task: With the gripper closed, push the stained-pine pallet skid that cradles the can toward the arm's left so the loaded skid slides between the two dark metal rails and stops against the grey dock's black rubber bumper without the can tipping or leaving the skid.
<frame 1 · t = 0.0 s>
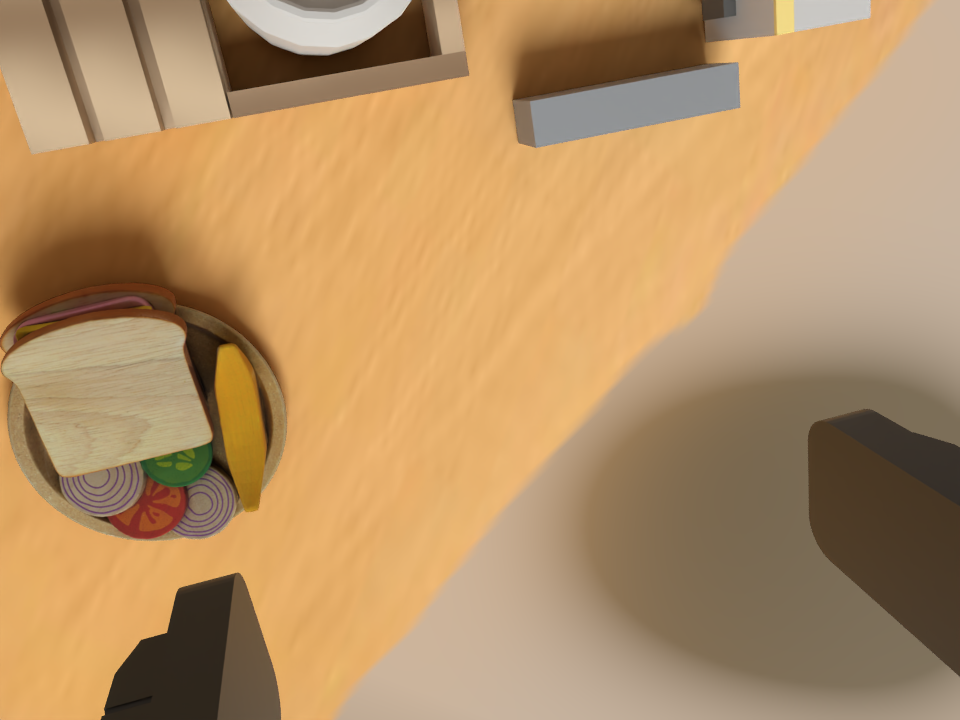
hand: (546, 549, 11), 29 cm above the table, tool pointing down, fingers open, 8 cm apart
toy sandwich meal: (146, 407, 39), on the table
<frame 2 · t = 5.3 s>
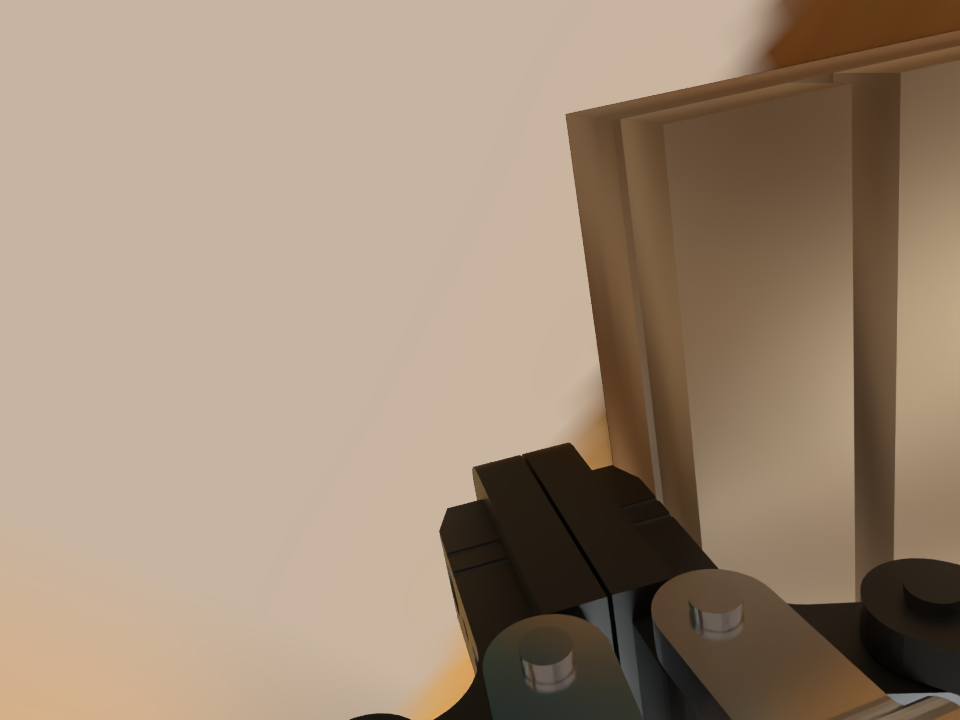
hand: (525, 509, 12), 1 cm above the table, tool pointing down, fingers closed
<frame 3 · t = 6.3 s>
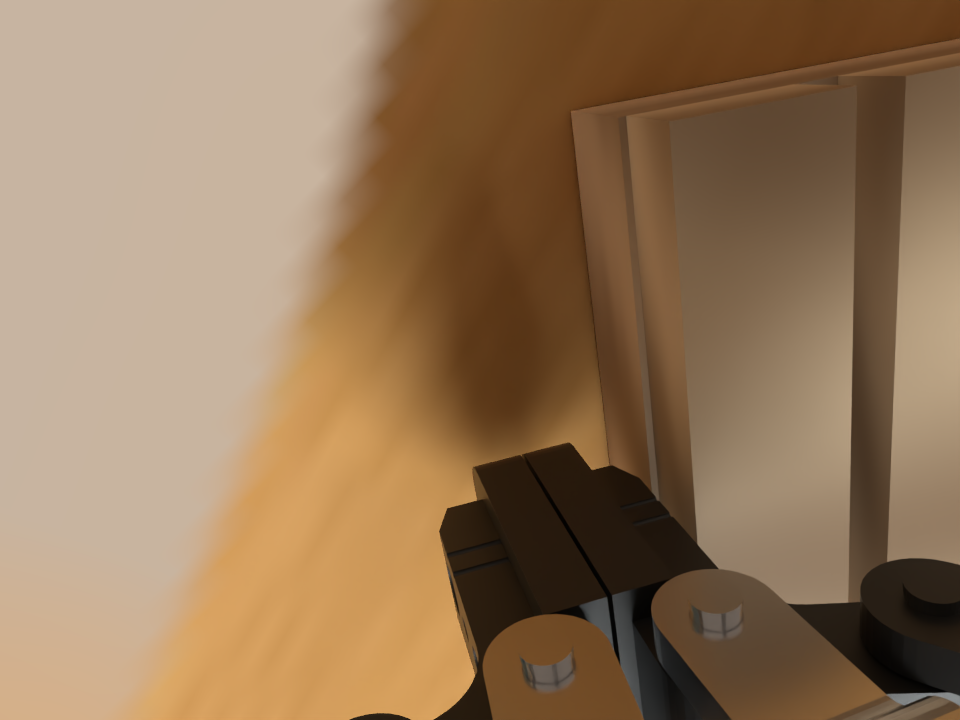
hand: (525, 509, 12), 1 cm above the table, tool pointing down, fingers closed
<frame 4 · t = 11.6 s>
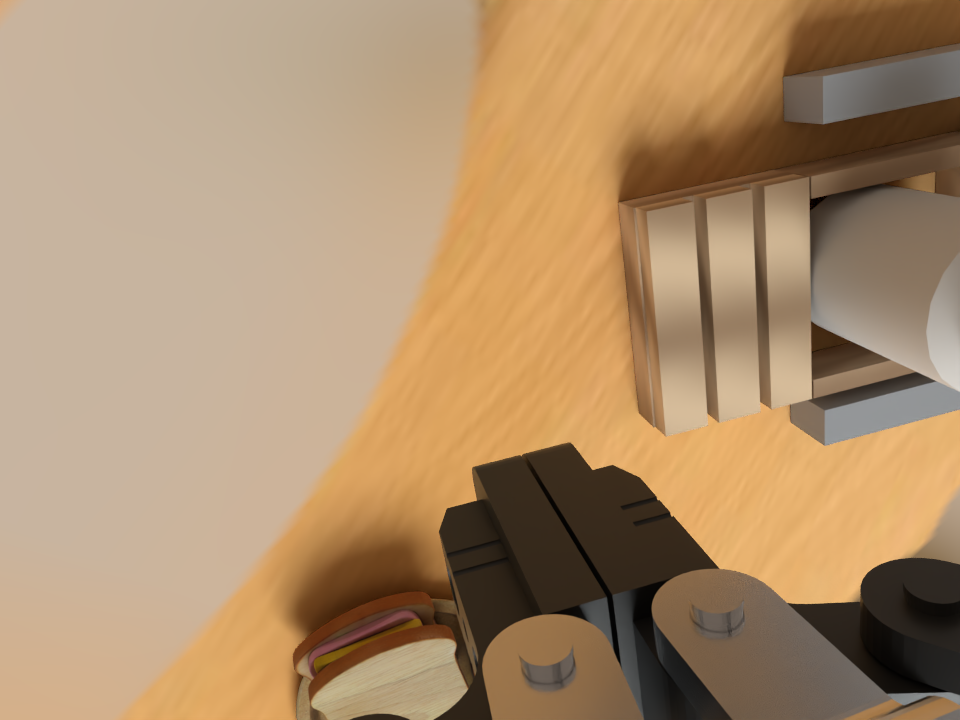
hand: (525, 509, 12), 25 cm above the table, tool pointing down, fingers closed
can: (840, 254, 41), resting in pallet
toy sandwich meal: (402, 676, 44), on the table
pallet: (794, 274, 40), on the table, touching dock
dock: (909, 235, 41), on the table
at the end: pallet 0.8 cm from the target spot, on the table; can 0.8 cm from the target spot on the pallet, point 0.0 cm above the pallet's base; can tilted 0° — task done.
